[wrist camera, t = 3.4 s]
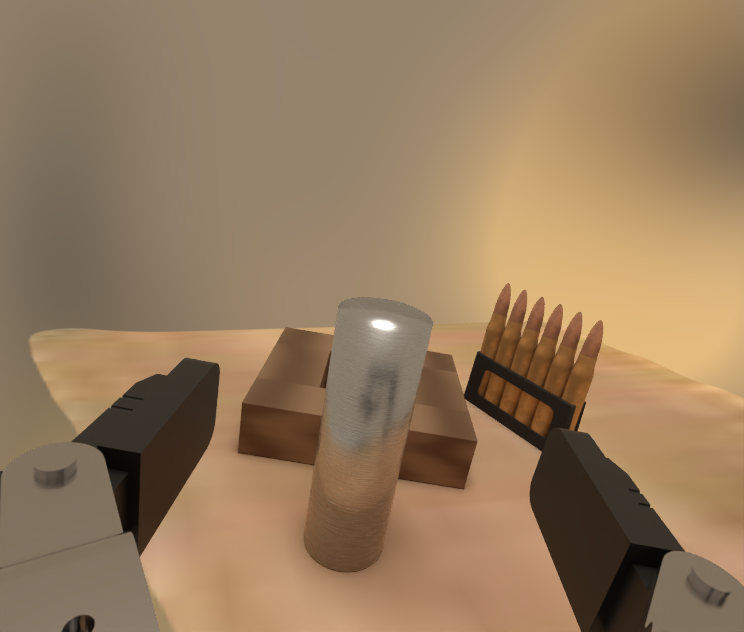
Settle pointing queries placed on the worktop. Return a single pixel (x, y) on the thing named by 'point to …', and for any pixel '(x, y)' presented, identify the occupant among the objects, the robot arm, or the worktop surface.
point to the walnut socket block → (306, 399)
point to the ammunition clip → (533, 370)
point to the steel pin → (364, 429)
